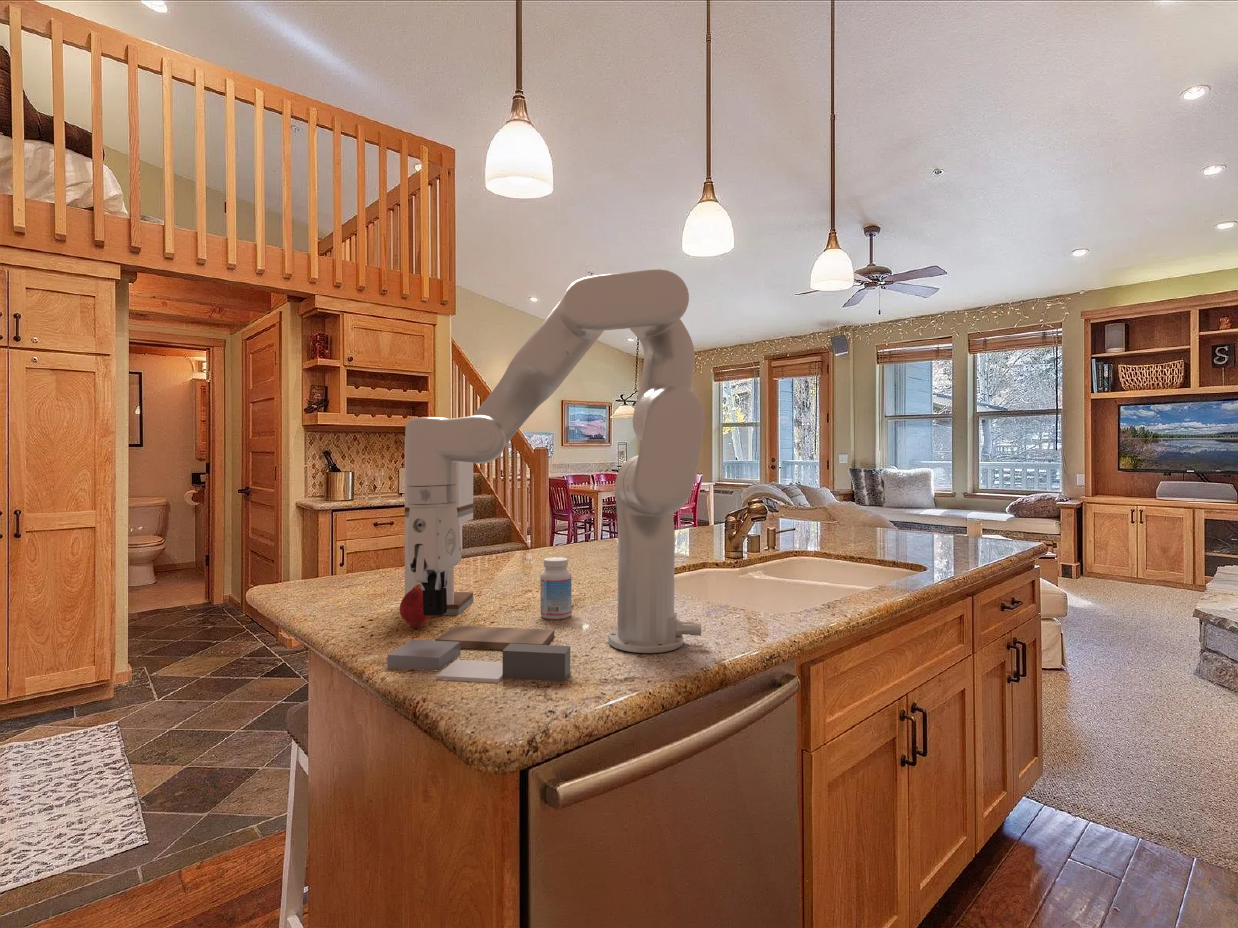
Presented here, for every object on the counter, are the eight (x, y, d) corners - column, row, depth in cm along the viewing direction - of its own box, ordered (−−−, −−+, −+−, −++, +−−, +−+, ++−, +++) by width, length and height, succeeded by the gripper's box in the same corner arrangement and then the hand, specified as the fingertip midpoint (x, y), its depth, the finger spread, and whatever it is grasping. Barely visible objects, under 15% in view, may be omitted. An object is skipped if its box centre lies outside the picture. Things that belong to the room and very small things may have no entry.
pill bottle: (577, 615, 125) (577, 558, 124) (558, 621, 119) (558, 562, 119) (553, 610, 128) (553, 555, 128) (533, 617, 123) (533, 559, 123)
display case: (458, 615, 124) (458, 436, 124) (404, 614, 124) (404, 436, 124) (473, 601, 136) (473, 438, 135) (423, 601, 136) (423, 438, 135)
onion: (423, 633, 111) (423, 587, 111) (393, 631, 113) (393, 586, 112) (439, 624, 117) (439, 581, 117) (410, 622, 118) (410, 580, 118)
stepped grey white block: (572, 669, 93) (572, 642, 93) (562, 686, 86) (562, 657, 86) (455, 663, 96) (455, 637, 96) (436, 679, 89) (436, 651, 89)
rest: (554, 636, 110) (554, 629, 110) (541, 651, 101) (541, 644, 101) (455, 632, 112) (455, 625, 112) (434, 646, 104) (434, 639, 104)
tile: (460, 641, 100) (439, 657, 92) (460, 656, 100) (439, 673, 92) (412, 639, 101) (387, 654, 93) (412, 653, 101) (387, 670, 93)
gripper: (435, 500, 91) (438, 627, 91) (472, 493, 105) (475, 603, 106) (385, 500, 92) (388, 627, 92) (430, 493, 106) (432, 602, 107)
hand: (435, 613), depth 99 cm, fingers closed
